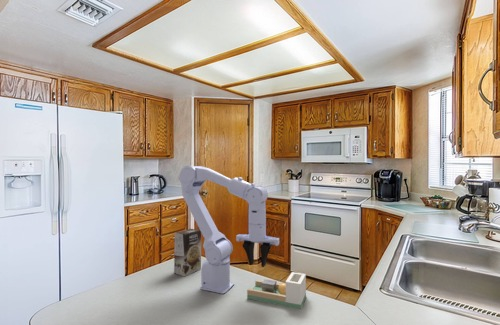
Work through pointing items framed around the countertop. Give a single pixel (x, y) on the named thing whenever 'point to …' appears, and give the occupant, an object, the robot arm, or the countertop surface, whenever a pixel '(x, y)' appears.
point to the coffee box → (187, 252)
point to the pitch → (291, 299)
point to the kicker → (269, 286)
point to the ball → (282, 289)
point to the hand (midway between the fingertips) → (257, 264)
